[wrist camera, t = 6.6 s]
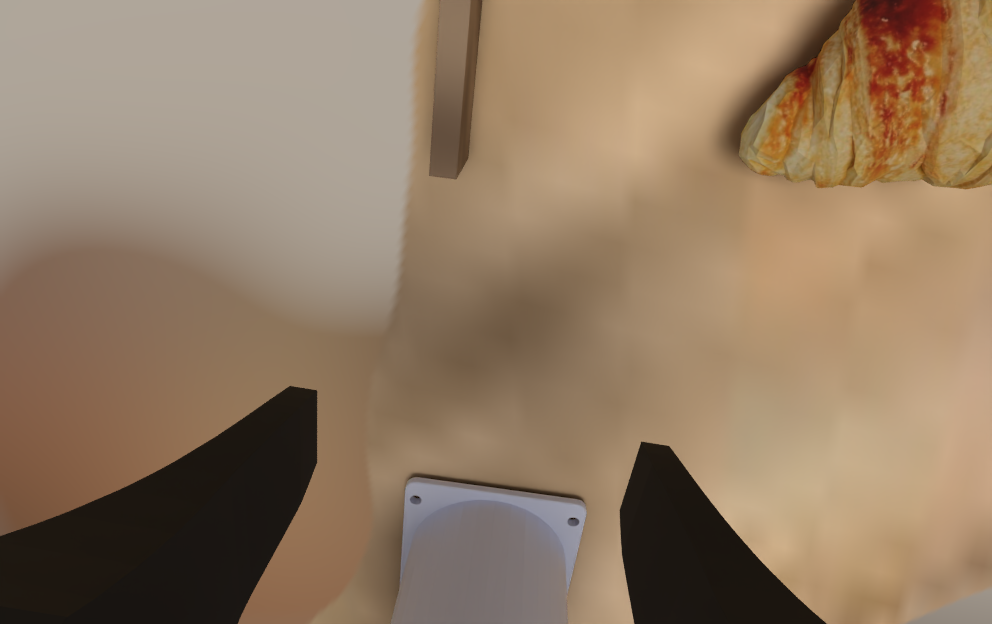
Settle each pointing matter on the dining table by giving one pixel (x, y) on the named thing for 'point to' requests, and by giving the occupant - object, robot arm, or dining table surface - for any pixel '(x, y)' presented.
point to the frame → (454, 85)
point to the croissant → (885, 101)
